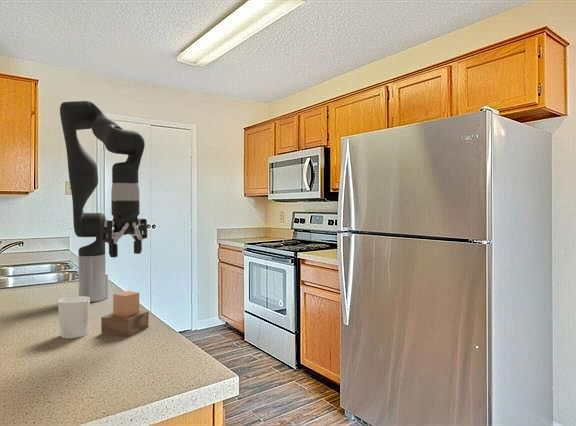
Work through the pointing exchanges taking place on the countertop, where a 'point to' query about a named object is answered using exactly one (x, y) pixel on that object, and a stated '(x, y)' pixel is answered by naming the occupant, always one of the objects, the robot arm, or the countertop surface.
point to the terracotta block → (126, 303)
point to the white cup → (74, 316)
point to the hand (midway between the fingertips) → (125, 255)
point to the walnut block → (124, 324)
